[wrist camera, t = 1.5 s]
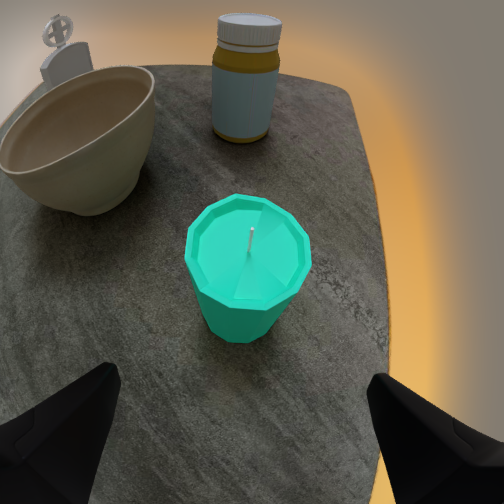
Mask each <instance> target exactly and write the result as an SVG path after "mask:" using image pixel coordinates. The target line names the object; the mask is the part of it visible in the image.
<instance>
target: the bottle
mask: <svg viewBox="0 0 504 504" xmlns="http://www.w3.org/2000/svg"><path fill="white" fill-rule="evenodd" d="M281 28H282V22H281V21H280V20H279V19H277V18H274V17H270V16H266V15H261V14H252V13H233V14H226V15H222V16H220V17H219V19H218V32H217V35H218V38H217V43H218V45H217V48H216V50H215V52H214V54H213V61H212V124H213V129H214V131H215V133H216V134H218V135H219V136H220V137H221V138H223V139H225V140H227V141H229V142H233V143H250V142H254V141H256V140H258V139H260V138H262V137H263V136H264V135H265V134H266V133H267V131H268V129H269V124H270V118H271V113H272V107H273V101H274V95H275V89H276V83H277V78H278V72H279V66H280V58H279V54H278V43H279V40H280V34H281Z"/></svg>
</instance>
